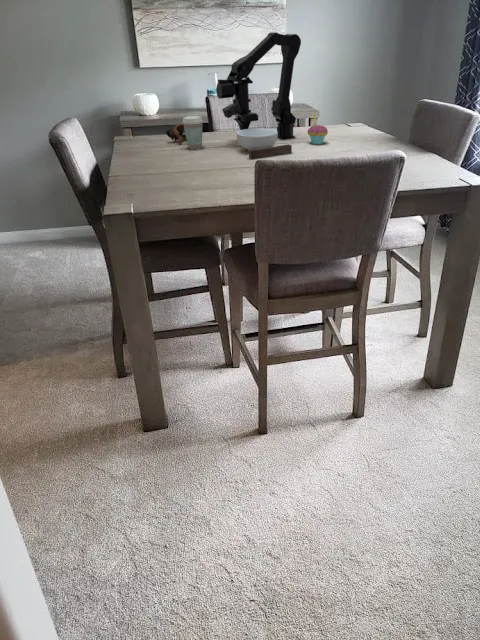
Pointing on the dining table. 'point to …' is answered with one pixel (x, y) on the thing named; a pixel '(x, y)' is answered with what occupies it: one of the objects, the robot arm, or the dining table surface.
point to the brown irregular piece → (177, 133)
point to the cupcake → (317, 133)
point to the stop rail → (270, 151)
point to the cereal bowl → (257, 138)
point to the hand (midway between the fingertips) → (243, 136)
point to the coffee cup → (193, 131)
